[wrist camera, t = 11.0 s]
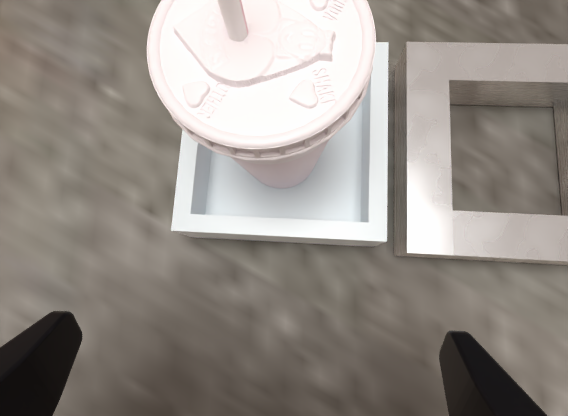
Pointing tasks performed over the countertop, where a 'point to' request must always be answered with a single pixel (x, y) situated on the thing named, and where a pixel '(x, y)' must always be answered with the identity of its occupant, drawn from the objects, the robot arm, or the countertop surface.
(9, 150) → the countertop surface
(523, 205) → the countertop surface
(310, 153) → the smoothie
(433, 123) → the bore block
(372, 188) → the tray
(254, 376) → the countertop surface
